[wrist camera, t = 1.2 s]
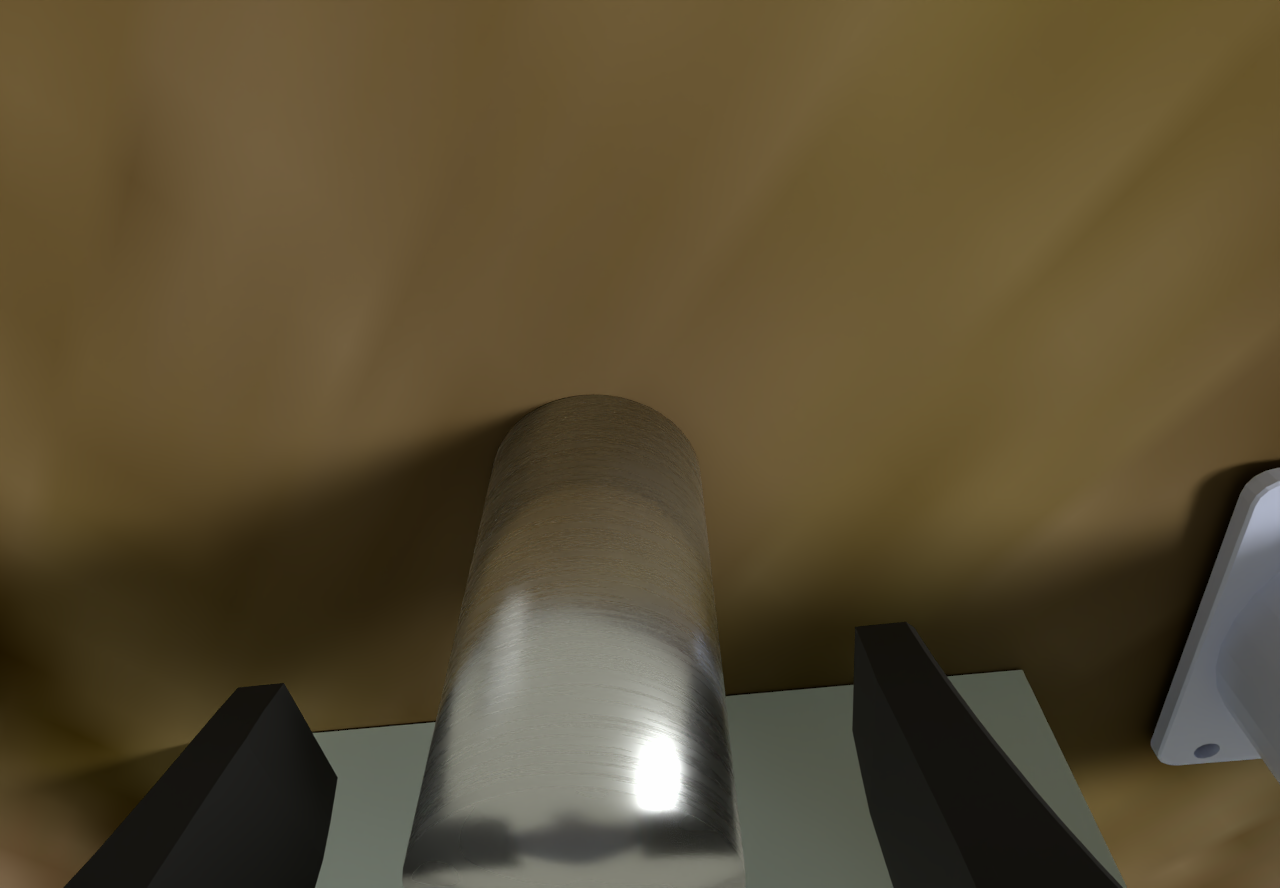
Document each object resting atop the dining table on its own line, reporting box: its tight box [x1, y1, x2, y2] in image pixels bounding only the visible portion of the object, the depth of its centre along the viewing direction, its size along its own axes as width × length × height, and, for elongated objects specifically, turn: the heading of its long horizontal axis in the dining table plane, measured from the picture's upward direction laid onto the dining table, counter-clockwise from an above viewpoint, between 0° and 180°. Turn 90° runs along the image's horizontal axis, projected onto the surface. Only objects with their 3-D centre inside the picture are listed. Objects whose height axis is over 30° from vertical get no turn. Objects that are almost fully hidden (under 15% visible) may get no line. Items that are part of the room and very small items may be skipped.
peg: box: [402, 395, 746, 888], centre depth 12 cm, size 4×4×7 cm
